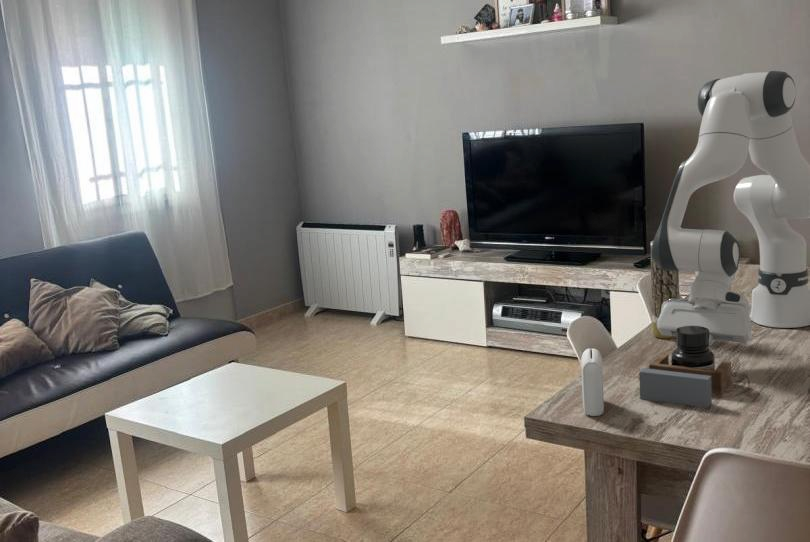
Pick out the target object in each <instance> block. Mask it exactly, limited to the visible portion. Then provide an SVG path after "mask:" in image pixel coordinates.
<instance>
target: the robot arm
mask: <svg viewBox="0 0 810 542" xmlns="http://www.w3.org/2000/svg"><path fill="white" fill-rule="evenodd" d="M796 94H797V93H796V84H795V81H794V79H793V78H792V76H791V75H790V74H788V73H787V72H786V71H781V70H770V71H769V72H768V71H765V72H763V71H761V72H758V71H757V72H748V73H742V74H739V75H734V76H730V77H729V76H728V77H725V78H716V79H713V80H710V81H707V82H706V83H705V84H704V85H703V86H701V88H700V90H699V92H698V95H697V107H698V112H699V114H700V116H701V117H702V119H701V122H700V128H699V133H698V140H697V144H696V147H695V149H694V150H693V153H691V155H690V156H689V158H688V159H686V160H683V161H682V162H681V163H680V165H679V166H678V169H677V172H676V174H675V176H674V180H673V182H672V185H671V188H670V192H669V195H668V198H667V202H666V205H665V209H664V210H663V211H664V212H663V214H662V218H661V220H660V224H659V226H658V229H657V230H656V233H655V235H654V239H653V240H652V241H653V244H652V250H651V249H650V255H651V254H652V259H653V260H654V262H655V263H656V264H657V265H658V266H659V267H660V268H661V269H663V270H664V271H688V272H694V273H695V278H694V280H693V282H692V284H691V287H690V291H689V297H688V299H687V298H686V299H685V298H679V299H674V298H671V299H669V300H667V301H665V302H663V304H662V307H661V314H660V316H659V319H658V322H657V328H658V330H659V332H660V333H661V334H662V335H666V336H676V329H677V328H679V327H683V326H701V327H705V328H707V329H709V347H708V348H709V349H710V347H711V346H712V345H713V344H714V341H721V342H722V341H723V342H733V343H743V344H746V343H747V342H749V341H750V340H751V337H752V322H754V323H755V324H758V325H760V326H761V325H762V326H765V327H770V328H779V329H780V328H783V329H784V328H787V329H789V328H802V327H808V326H810V286H809V271H808V268H807V242H806V239H805V237H804V236H803V235H802V234H800V233H799V232H797V231H795V230H794V229H793V228H792V227H791V226H790V225H789V223H788V220H787V219H801V220H807V219H810V164H809V162H808V161H807V160H806V159H805V157H804V156H803V154H802V152H801V150H800V147H799V143H798V140H797V136H796V132H795V129H794V124H793V119H792V115H791V112H790V111H791V110H792V108H793V107H794V105H795V102H796ZM748 154H749V156H750V157H749V158H750V160H751V162H752V164H753V165H754V166H755V167H756V168H758V169H759V170H761V171H764V172H765V173H766V174H757V175H751V176H746V177H743V178H741V179H740V180H739V181H738V183H737V184H736V186H735V188H734V191H733V202H734V205H735V207H736V208H737V209H738V211H739V212H741V214H742V215H744V216H745V217H746V218H747V220H748V221H749V222H750V224H751V225H752V226H753V229H754V231H755V233H756V236H757V240H758V244H759V245H758V246H759V265H760V266H759V267H760V268H759V269H758V274H757V283H758V285H757V286H756V287H754V288H753V289H752V292H751V294H752V295H751V307H750V303H749V301H748V299H747V298H746V296H745V295H743V294H741V293H738V292H735V291H732V284H733V282H734V280H735V278H736V273H737V271H738V268H739V263H740V258H741V247H740V244H739V242H738V241H737V239H736V238H735V237H734V236H733V234H731V233H730V232H729V231H727V230H719V229H698V228H697V229H695V228H694V229H692V228H682V227H681V226H682V223H683V219H684V216H685V213H686V211H687V207H688V202H689V200H690V198H691V196H692V195H693V193H694V192H696V190H698V189H700V188H701V187H704V186H706V185H708V184H712V183H715V182H718V181H722V180H724V179H727V178H729V177H731V176H733V175H734V174H736V173H737V172H738V171H740V170H741V169H742V167H743V166H744V165H745V164H746V162H747V158H748ZM651 252H652V253H651Z"/></svg>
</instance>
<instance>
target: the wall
mask: <svg viewBox="0 0 810 542" xmlns="http://www.w3.org/2000/svg"><path fill="white" fill-rule="evenodd" d="M638 375H639V399H640V400H647V401H656V402H661V403H670V404H676V405H684V406H692V407H696V408H697V407H698V408H705V409H709V407H711V405H712V403H713V402H712V400H713V399H712V395H711V376H708V375H699V374H690V373H682V372H673V371H664V370H656V369H649V368H647V367H646V368H645V367H643V368H642V369H640V370H639V374H638Z"/></svg>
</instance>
